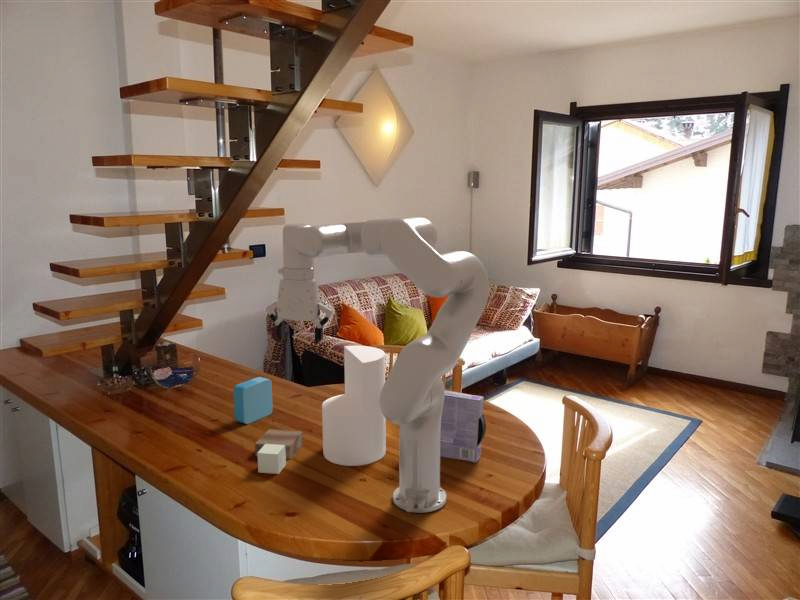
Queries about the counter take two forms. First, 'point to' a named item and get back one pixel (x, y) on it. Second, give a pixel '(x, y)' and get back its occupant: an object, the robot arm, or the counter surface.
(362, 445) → the white bottle-shaped block
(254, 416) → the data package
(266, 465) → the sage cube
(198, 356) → the counter surface
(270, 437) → the pinkish brown square block
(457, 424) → the cake pan box
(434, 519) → the counter surface
